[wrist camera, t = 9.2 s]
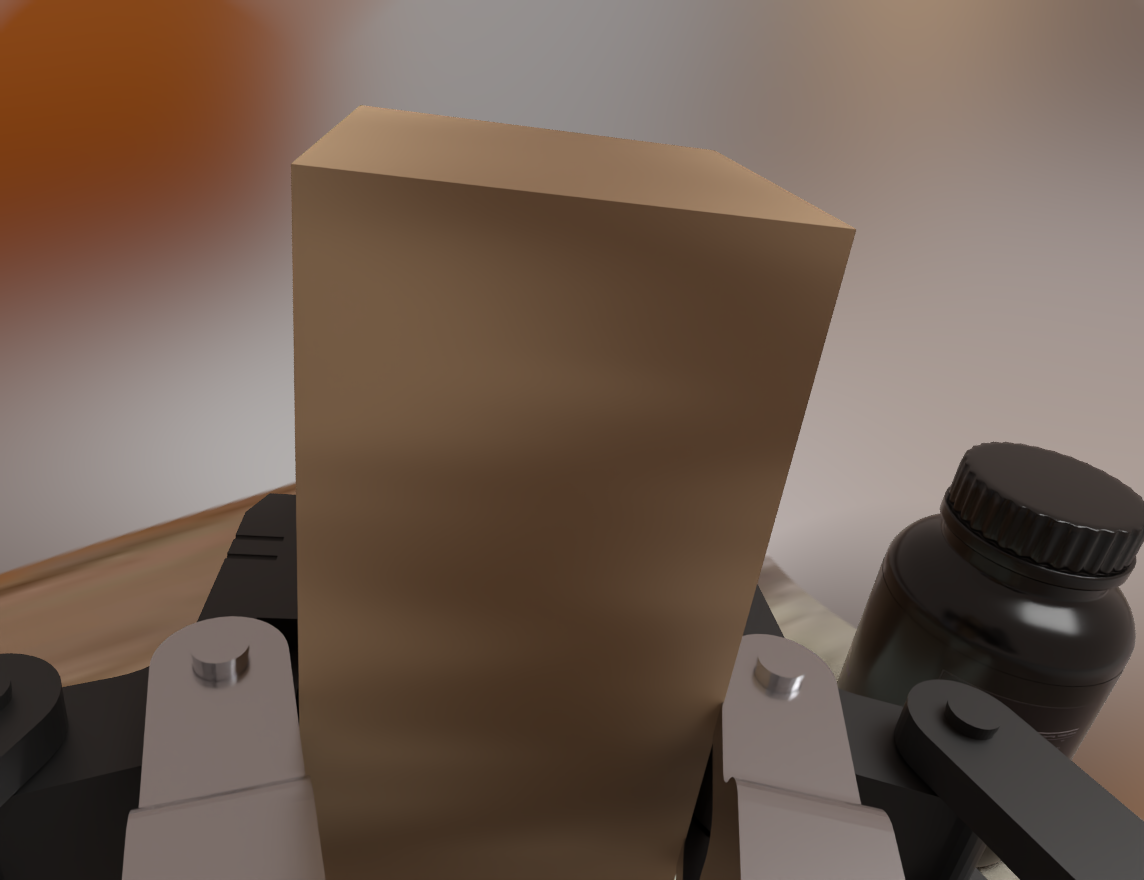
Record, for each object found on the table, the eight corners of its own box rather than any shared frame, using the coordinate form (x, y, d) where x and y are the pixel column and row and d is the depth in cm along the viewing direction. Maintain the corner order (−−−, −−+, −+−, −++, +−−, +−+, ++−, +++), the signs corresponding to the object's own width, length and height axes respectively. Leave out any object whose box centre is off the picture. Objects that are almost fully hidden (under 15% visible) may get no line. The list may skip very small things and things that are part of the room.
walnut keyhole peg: (211, 1310, 11) (60, 170, 4) (296, 877, 16) (283, 86, 10) (669, 1269, 12) (1065, 280, 5) (605, 873, 17) (769, 149, 11)
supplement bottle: (800, 694, 31) (902, 406, 26) (983, 730, 31) (1125, 446, 26) (827, 854, 25) (969, 522, 20) (1055, 901, 25) (1263, 576, 20)
